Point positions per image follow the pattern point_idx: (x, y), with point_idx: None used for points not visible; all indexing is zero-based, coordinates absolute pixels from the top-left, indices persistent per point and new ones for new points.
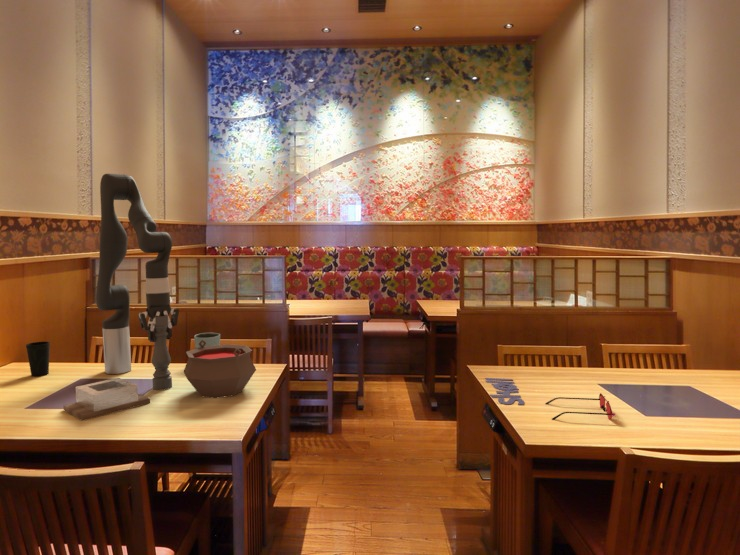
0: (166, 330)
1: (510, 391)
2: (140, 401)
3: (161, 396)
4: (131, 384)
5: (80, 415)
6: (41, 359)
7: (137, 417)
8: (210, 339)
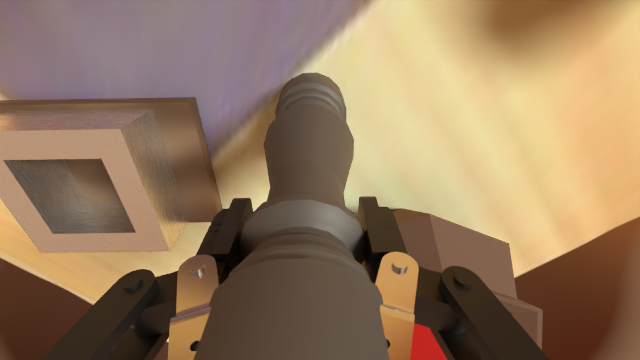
0: (367, 255)
1: None
2: (194, 220)
3: (267, 187)
4: (154, 237)
5: None
6: None
7: (174, 269)
8: None
